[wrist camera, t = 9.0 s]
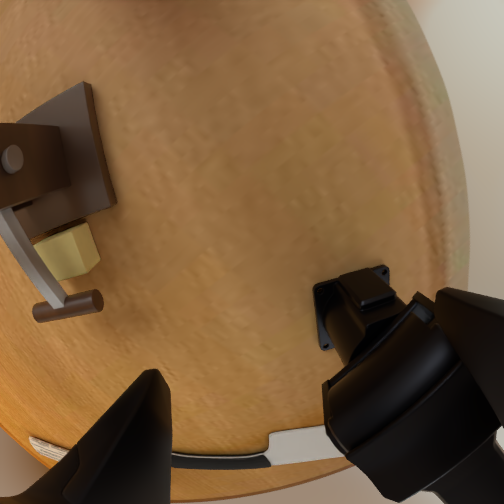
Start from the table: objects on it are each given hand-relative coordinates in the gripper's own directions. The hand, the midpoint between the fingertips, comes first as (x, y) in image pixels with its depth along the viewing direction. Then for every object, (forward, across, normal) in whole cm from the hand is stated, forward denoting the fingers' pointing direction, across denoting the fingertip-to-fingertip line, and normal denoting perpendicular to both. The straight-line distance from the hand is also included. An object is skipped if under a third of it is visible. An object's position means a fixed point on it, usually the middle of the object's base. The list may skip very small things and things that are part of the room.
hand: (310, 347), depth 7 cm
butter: (+12, +14, -2) cm, 19 cm away
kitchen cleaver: (+12, +2, +28) cm, 31 cm away
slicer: (+12, +14, -9) cm, 20 cm away
